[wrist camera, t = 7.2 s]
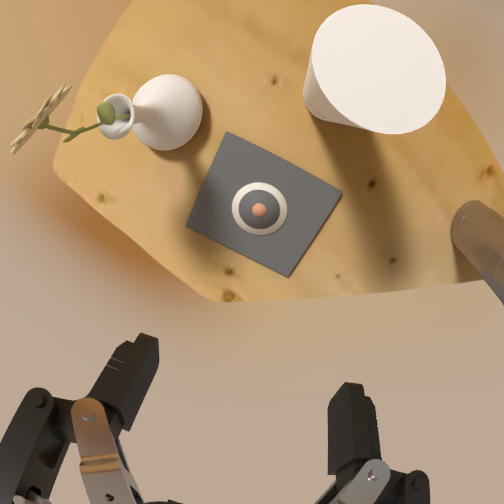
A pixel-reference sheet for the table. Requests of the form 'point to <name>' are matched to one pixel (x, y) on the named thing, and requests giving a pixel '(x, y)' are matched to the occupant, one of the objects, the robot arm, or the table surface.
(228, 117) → the table surface
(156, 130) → the flower in vase
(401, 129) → the cylindrical container
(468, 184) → the table surface
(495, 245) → the robot arm
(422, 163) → the table surface
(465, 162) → the table surface
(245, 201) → the pad
